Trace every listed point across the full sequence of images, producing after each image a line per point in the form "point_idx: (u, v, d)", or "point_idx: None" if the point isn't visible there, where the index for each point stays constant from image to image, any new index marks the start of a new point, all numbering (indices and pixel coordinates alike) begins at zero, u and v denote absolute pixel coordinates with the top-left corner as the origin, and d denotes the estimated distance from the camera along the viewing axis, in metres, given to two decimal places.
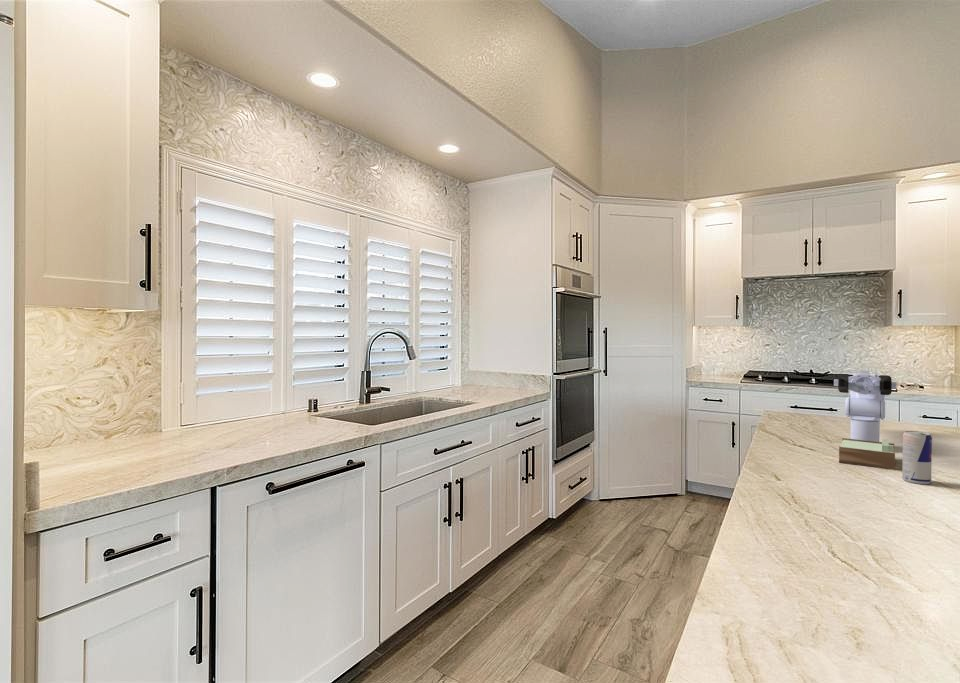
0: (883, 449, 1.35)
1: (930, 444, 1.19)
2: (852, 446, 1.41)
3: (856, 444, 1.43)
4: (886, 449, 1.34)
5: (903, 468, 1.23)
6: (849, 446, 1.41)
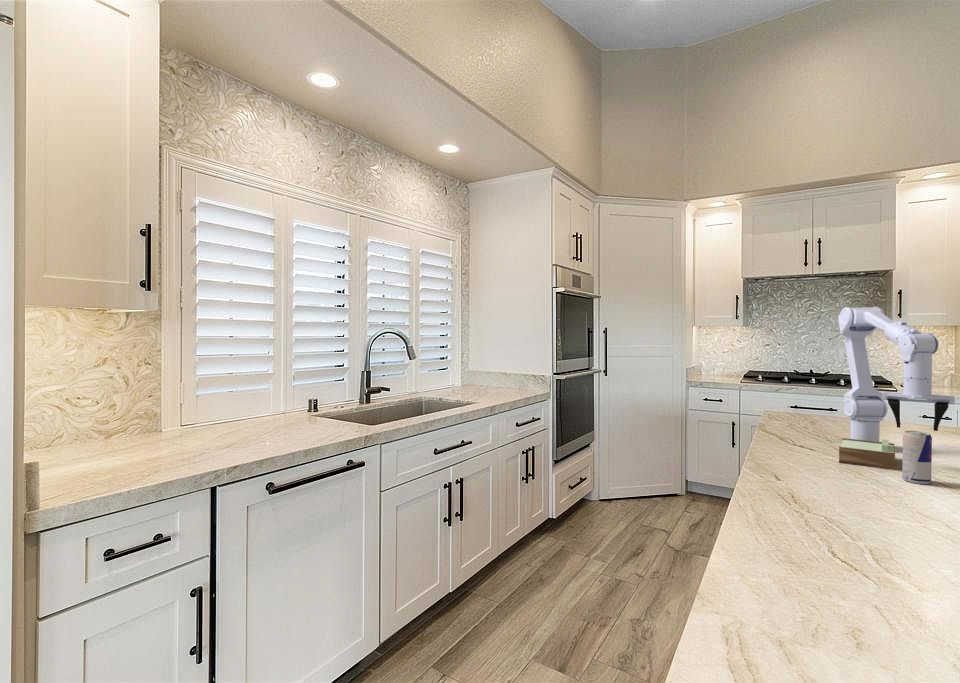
0: (883, 449, 1.35)
1: (930, 444, 1.19)
2: (852, 446, 1.41)
3: (856, 444, 1.43)
4: (886, 449, 1.34)
5: (903, 468, 1.23)
6: (849, 446, 1.41)
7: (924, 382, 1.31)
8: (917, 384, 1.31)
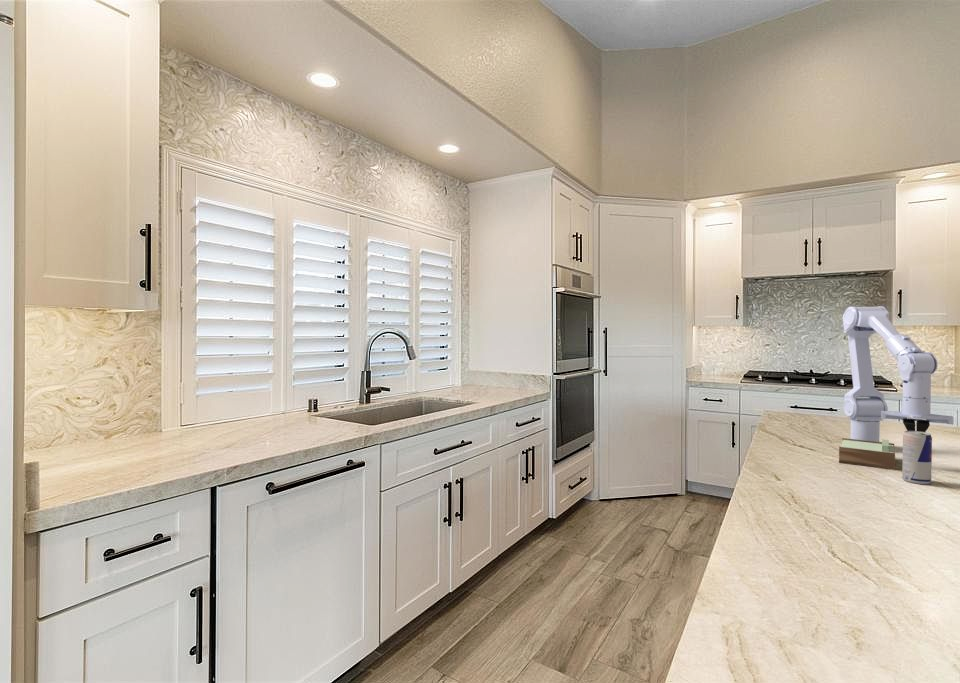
0: (883, 449, 1.35)
1: (930, 444, 1.19)
2: (852, 446, 1.41)
3: (856, 444, 1.43)
4: (886, 449, 1.34)
5: (903, 468, 1.23)
6: (849, 446, 1.41)
7: (923, 402, 1.31)
8: (916, 403, 1.31)
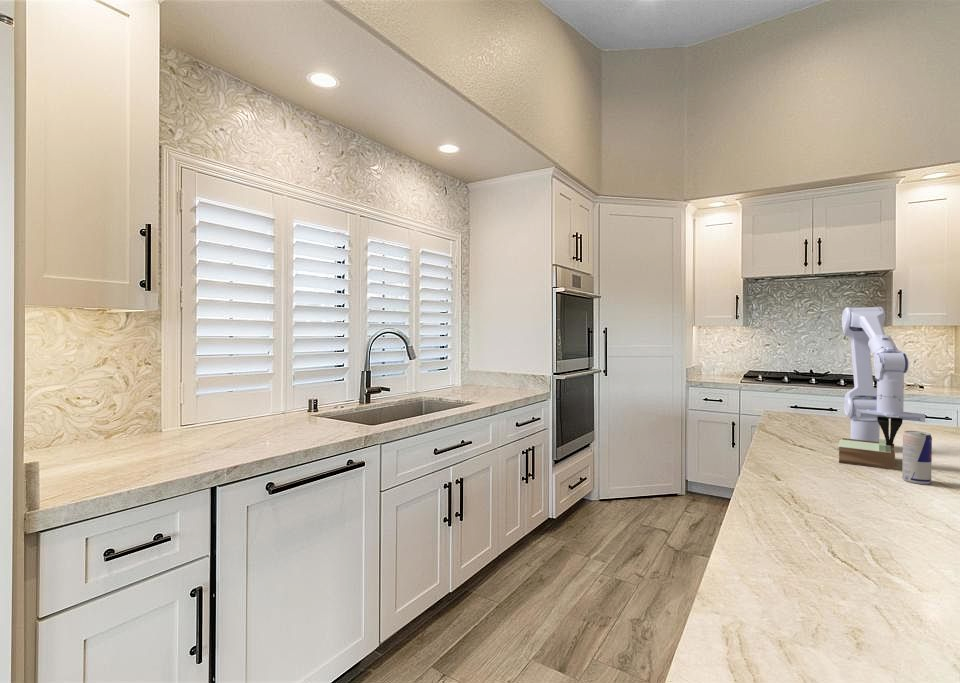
0: (880, 449, 1.35)
1: (930, 444, 1.19)
2: (849, 446, 1.41)
3: (853, 444, 1.43)
4: (883, 448, 1.35)
5: (903, 468, 1.23)
6: (846, 446, 1.41)
7: (896, 400, 1.34)
8: (889, 402, 1.35)
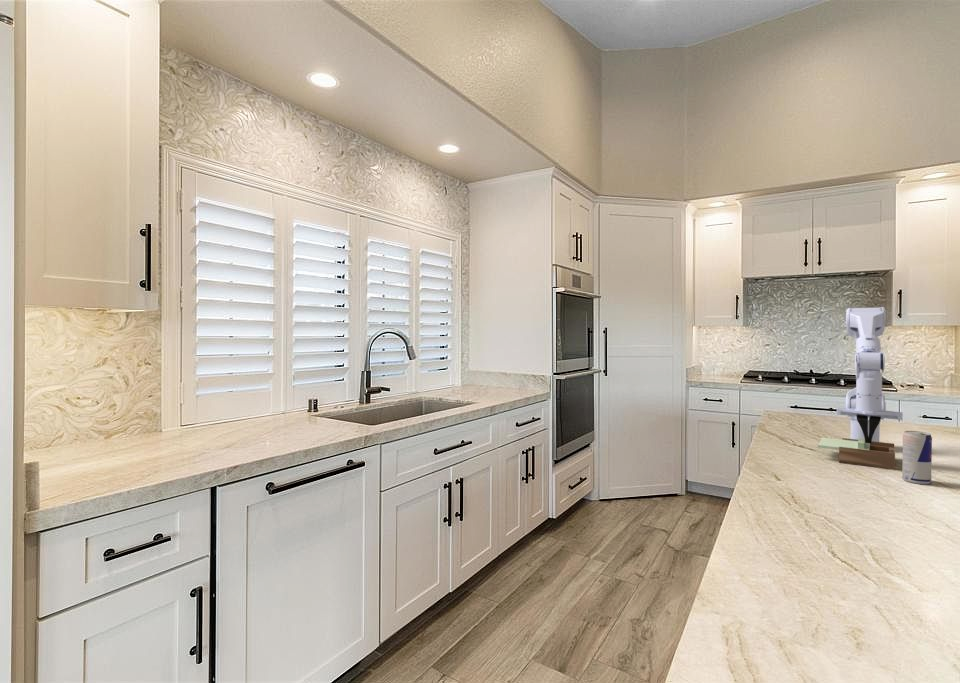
0: (859, 446, 1.38)
1: (930, 444, 1.19)
2: (829, 443, 1.44)
3: (834, 442, 1.46)
4: (862, 446, 1.38)
5: (903, 468, 1.23)
6: (827, 443, 1.44)
7: (874, 399, 1.37)
8: (868, 400, 1.38)
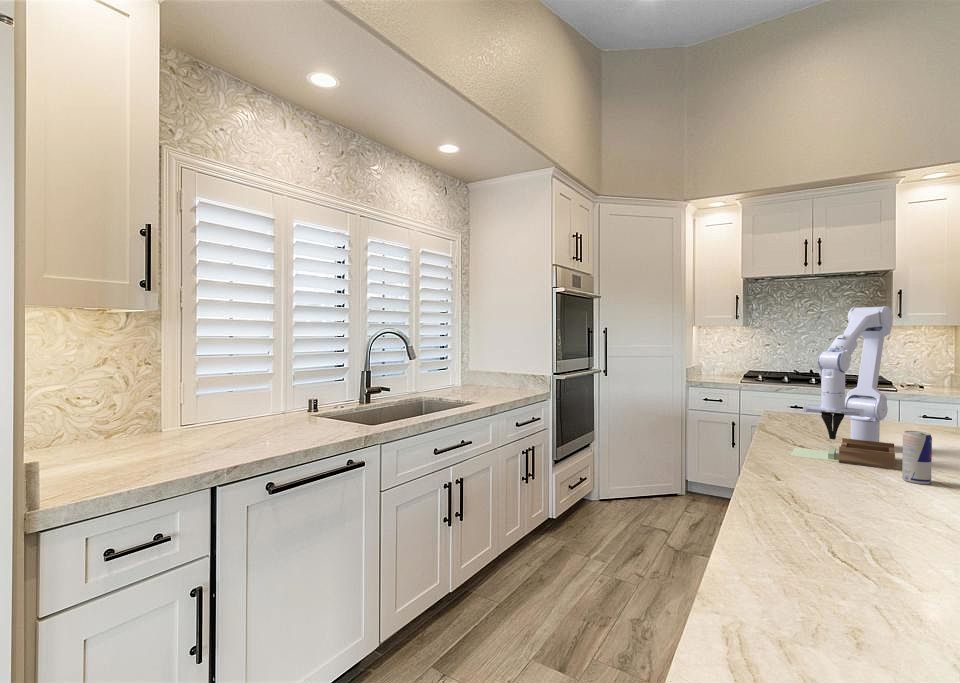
0: (829, 457, 1.42)
1: (930, 444, 1.19)
2: (801, 454, 1.48)
3: (806, 452, 1.50)
4: (832, 457, 1.42)
5: (903, 468, 1.23)
6: (799, 454, 1.48)
7: (837, 396, 1.42)
8: (831, 398, 1.43)
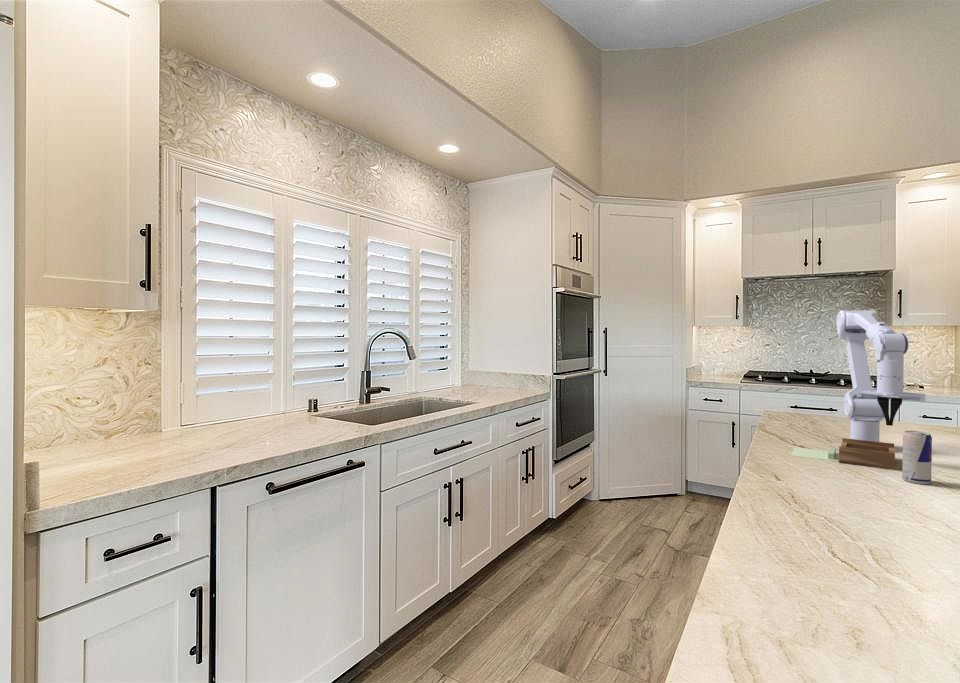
0: (829, 457, 1.42)
1: (930, 444, 1.19)
2: (801, 454, 1.48)
3: (806, 452, 1.50)
4: (832, 457, 1.42)
5: (903, 468, 1.23)
6: (799, 454, 1.48)
7: (896, 380, 1.36)
8: (889, 382, 1.36)
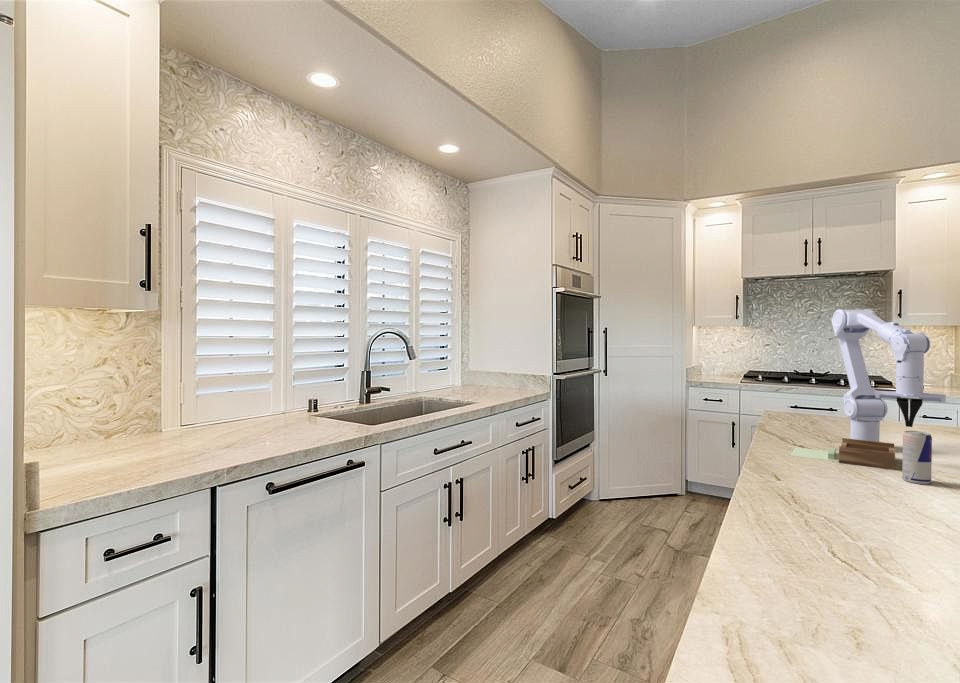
0: (829, 457, 1.42)
1: (930, 444, 1.19)
2: (801, 454, 1.48)
3: (806, 452, 1.50)
4: (832, 457, 1.42)
5: (903, 468, 1.23)
6: (799, 454, 1.48)
7: (916, 381, 1.34)
8: (909, 382, 1.34)
